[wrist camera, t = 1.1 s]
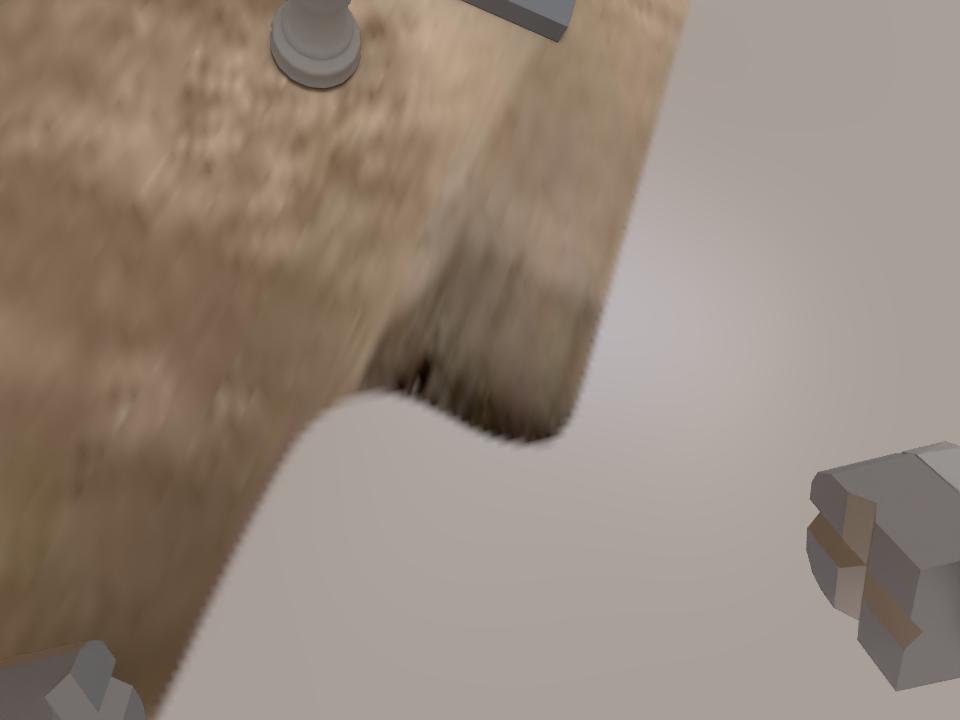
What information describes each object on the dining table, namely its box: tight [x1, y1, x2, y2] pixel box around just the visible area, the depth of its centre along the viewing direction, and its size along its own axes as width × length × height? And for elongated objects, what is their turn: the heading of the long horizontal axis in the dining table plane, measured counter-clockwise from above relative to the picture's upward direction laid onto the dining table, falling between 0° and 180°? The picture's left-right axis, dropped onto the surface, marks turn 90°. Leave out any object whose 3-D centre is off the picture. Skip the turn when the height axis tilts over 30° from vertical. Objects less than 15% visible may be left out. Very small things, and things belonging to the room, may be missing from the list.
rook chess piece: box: [270, 0, 361, 88], centre depth 33 cm, size 4×4×8 cm
